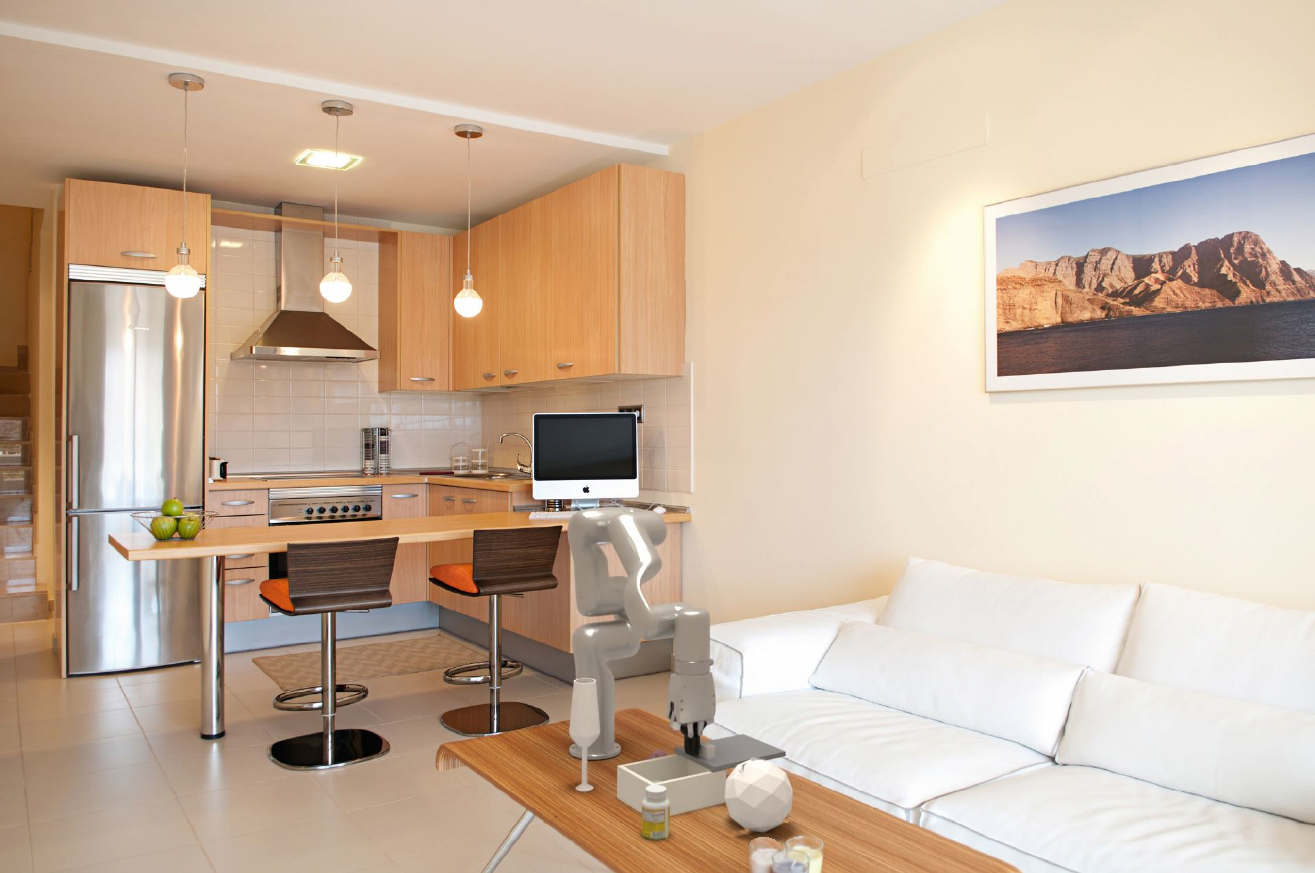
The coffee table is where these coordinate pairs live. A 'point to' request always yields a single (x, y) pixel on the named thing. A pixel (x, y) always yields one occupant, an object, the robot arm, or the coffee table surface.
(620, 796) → the storage box
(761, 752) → the lid
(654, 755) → the video game controller
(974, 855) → the coffee table surface
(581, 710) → the champagne flute
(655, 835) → the supplement bottle
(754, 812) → the geodesic sphere
